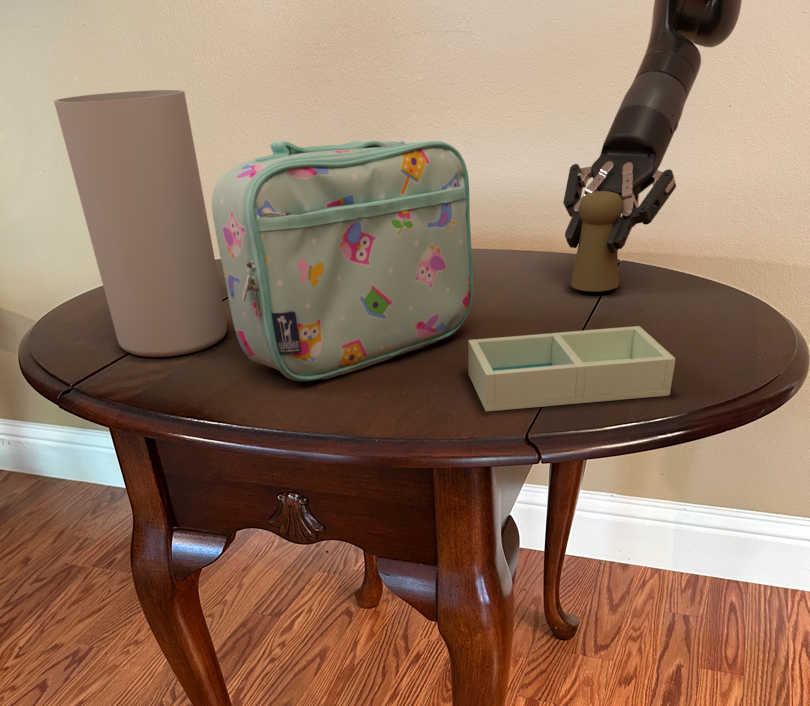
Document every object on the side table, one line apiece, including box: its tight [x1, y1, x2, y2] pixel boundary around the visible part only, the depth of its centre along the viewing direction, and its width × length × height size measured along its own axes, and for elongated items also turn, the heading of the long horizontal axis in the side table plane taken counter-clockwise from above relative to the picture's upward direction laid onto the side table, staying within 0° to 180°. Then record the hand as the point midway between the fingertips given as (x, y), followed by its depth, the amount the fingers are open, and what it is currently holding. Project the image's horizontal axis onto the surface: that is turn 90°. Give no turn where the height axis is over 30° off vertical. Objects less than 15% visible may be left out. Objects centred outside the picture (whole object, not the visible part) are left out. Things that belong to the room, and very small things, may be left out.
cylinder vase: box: [53, 89, 228, 358], centre depth 83 cm, size 12×12×25 cm
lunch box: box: [211, 140, 474, 382], centre depth 77 cm, size 27×10×21 cm, turn 126°
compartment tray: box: [467, 325, 676, 412], centre depth 73 cm, size 17×9×4 cm, turn 96°
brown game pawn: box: [570, 191, 623, 292], centre depth 95 cm, size 6×6×11 cm
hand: (591, 246), depth 94 cm, fingers closed on brown game pawn, 5 cm apart
